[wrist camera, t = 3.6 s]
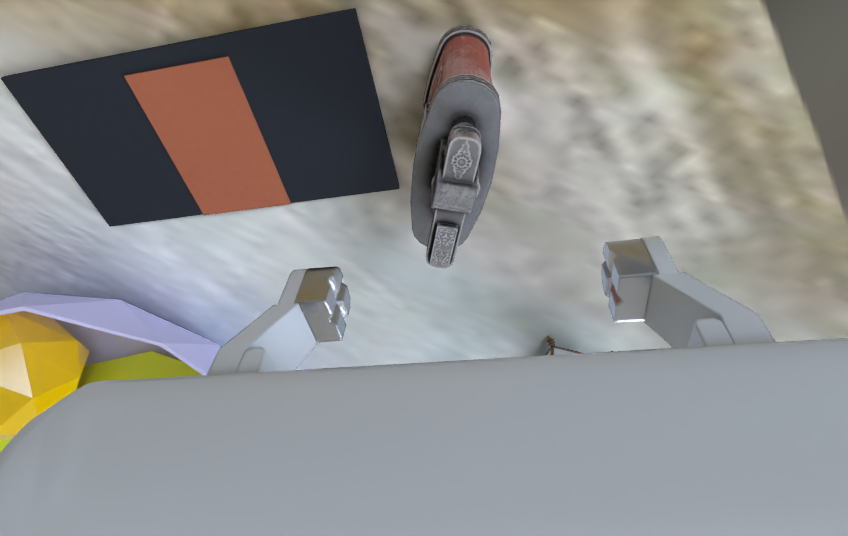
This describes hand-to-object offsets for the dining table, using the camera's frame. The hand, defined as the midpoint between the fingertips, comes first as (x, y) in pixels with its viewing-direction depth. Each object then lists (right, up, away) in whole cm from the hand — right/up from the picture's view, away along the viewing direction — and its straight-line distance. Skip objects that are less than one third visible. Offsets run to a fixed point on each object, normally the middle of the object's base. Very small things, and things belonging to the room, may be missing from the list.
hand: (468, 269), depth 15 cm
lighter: (0, +9, +11) cm, 14 cm away
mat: (-14, +8, +13) cm, 20 cm away
